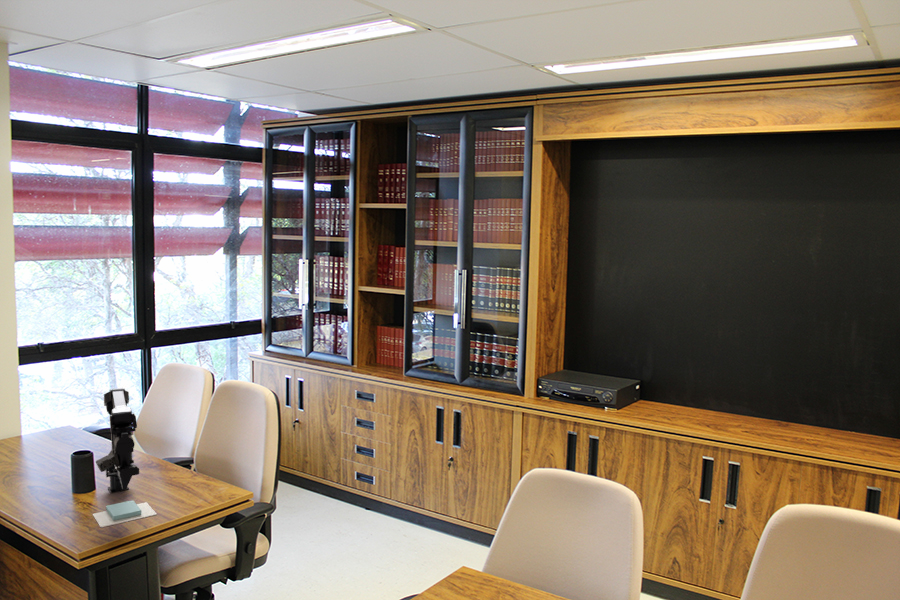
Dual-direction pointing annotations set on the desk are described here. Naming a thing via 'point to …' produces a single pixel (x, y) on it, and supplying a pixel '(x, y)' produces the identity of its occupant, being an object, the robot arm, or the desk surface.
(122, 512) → the tile
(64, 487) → the desk surface
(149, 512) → the mat
